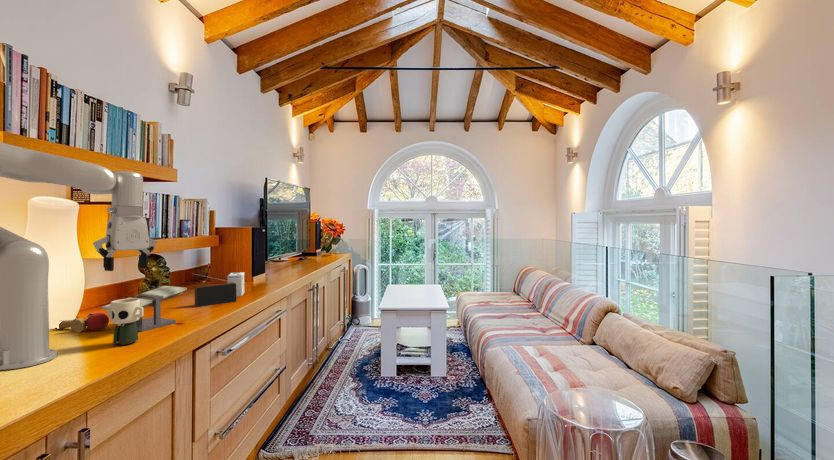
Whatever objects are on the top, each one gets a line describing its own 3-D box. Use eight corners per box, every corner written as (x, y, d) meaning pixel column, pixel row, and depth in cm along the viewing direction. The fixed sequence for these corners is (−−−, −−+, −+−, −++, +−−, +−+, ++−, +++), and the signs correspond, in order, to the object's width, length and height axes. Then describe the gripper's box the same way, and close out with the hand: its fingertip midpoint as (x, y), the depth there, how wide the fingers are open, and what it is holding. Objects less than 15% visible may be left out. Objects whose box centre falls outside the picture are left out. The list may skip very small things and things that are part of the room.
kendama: (44, 336, 129) (94, 330, 127) (45, 317, 130) (95, 311, 128) (68, 334, 137) (115, 328, 135) (68, 316, 138) (115, 310, 136)
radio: (233, 300, 181) (233, 268, 181) (236, 301, 179) (236, 269, 179) (189, 307, 168) (188, 272, 168) (191, 308, 166) (191, 273, 166)
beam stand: (141, 331, 130) (141, 300, 130) (118, 328, 134) (118, 298, 134) (175, 323, 141) (175, 294, 141) (153, 320, 146) (153, 292, 145)
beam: (126, 319, 126) (124, 310, 125) (103, 316, 130) (101, 307, 129) (188, 296, 146) (186, 287, 145) (166, 293, 150) (164, 285, 149)
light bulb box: (230, 293, 201) (230, 272, 200) (244, 292, 203) (244, 271, 202) (227, 297, 190) (227, 275, 190) (242, 296, 192) (242, 274, 192)
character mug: (98, 347, 114) (97, 302, 114) (117, 339, 121) (117, 298, 121) (134, 347, 114) (133, 303, 113) (152, 340, 121) (151, 298, 121)
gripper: (103, 211, 109) (102, 272, 109) (163, 213, 125) (163, 267, 125) (86, 211, 111) (85, 271, 111) (148, 213, 127) (147, 266, 127)
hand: (126, 269), depth 118 cm, fingers open, 9 cm apart
